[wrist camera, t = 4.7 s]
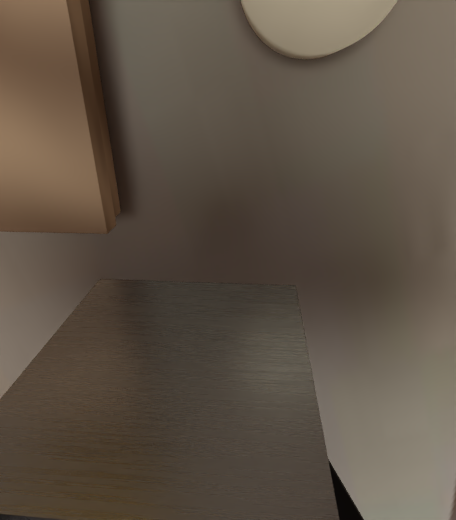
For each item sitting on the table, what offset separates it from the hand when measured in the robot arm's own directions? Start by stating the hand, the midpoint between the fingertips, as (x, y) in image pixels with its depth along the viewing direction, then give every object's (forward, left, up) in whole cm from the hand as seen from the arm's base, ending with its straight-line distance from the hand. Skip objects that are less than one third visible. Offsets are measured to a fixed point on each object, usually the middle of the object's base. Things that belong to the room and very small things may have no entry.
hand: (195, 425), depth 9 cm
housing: (0, 0, -1) cm, 1 cm away
